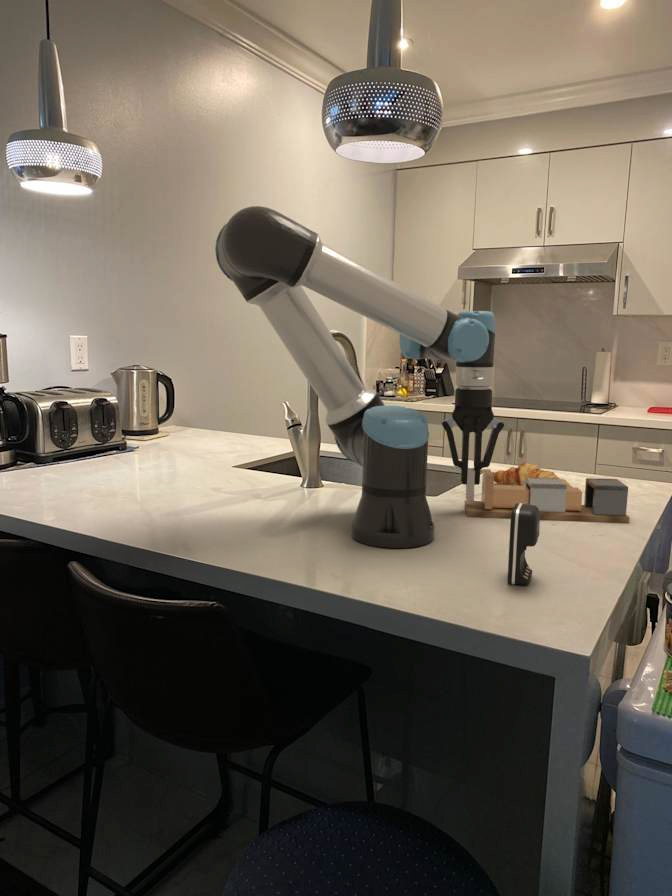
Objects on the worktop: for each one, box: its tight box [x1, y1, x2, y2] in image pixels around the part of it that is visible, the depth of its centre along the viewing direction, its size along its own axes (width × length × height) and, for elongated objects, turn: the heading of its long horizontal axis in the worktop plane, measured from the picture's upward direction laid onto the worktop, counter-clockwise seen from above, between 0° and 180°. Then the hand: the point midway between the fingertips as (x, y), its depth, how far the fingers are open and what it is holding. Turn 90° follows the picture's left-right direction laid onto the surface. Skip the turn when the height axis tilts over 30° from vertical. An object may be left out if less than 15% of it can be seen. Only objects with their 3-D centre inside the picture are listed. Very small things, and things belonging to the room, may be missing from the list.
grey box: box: [583, 477, 629, 516], centre depth 139 cm, size 6×8×6 cm
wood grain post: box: [480, 468, 583, 511], centre depth 140 cm, size 20×7×7 cm, turn 84°
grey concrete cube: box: [525, 478, 567, 513], centre depth 140 cm, size 7×7×6 cm
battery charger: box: [506, 503, 541, 586], centre depth 102 cm, size 7×4×11 cm, turn 159°
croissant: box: [491, 462, 573, 487], centre depth 163 cm, size 21×10×8 cm, turn 53°
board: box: [464, 500, 630, 524], centre depth 141 cm, size 32×9×1 cm, turn 84°
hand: (469, 499), depth 142 cm, fingers closed
